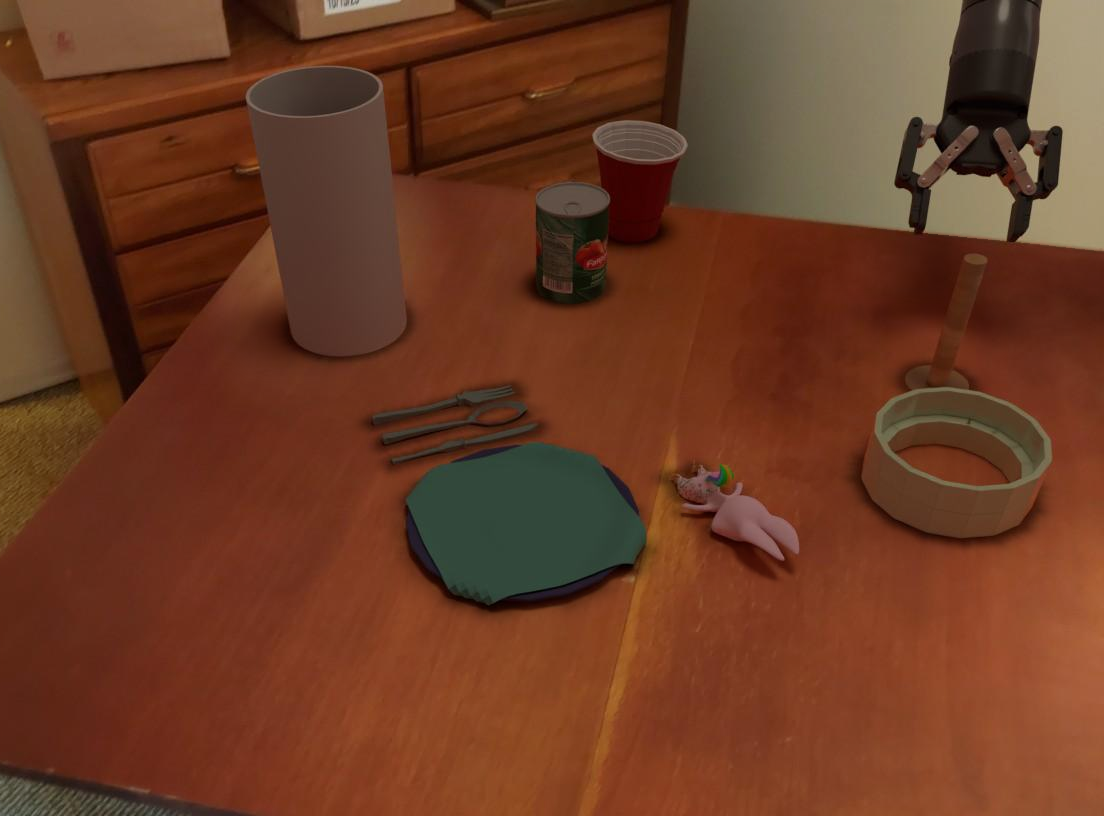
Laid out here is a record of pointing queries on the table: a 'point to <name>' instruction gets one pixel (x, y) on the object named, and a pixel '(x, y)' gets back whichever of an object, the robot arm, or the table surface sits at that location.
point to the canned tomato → (571, 242)
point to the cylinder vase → (331, 206)
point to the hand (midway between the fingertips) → (966, 236)
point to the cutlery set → (515, 512)
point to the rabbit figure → (735, 511)
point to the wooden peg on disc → (951, 331)
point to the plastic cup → (637, 174)
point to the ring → (967, 426)
